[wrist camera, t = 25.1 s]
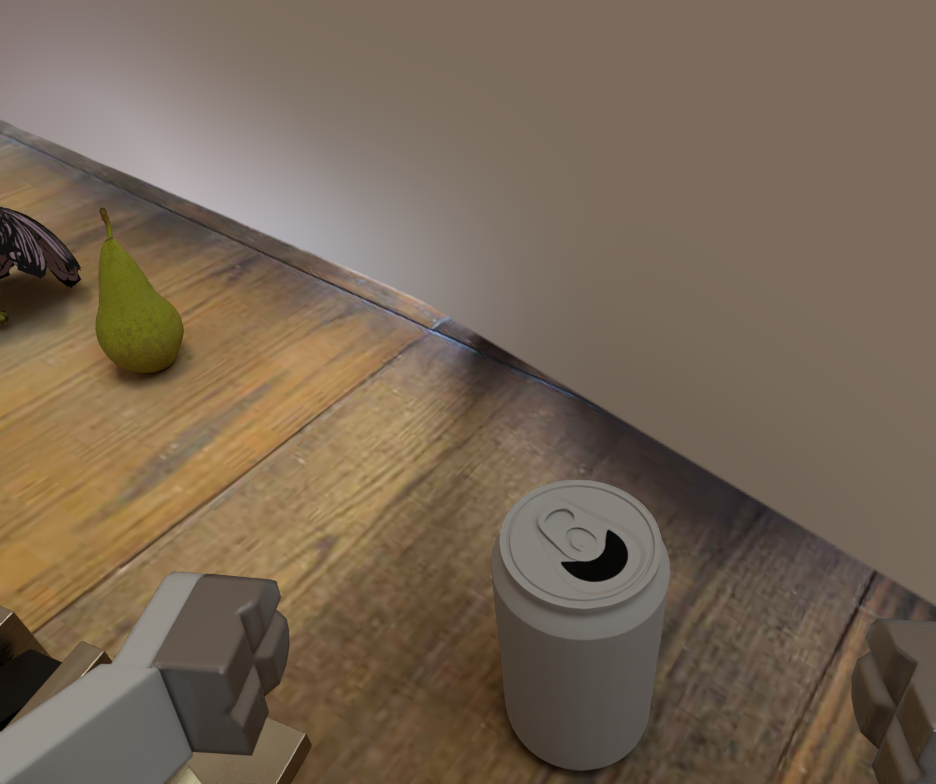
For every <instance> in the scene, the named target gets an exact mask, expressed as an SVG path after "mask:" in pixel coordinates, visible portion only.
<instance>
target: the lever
mask: <svg viewBox="0 0 936 784" xmlns="http://www.w3.org/2000/svg"><path fill="white" fill-rule="evenodd" d="M61 663H62V662H60V661H58V660H55V659H53V658H51V657H49V656H46V655H44V654H42V653H40V652H38V651H35V650H33V649H29V650H27V651H25V652H24V653H22V654H20V655H19V656H17V657H15V658H14V659H12V660H10V661H9V662H7V663H5V664H4V665H2V666H0V732H1V731H3V729H4V728H5V727H6V726H7V725H8V724H9V723H10V721H11V720H12V719H13V718H14V717H15V716H16V715H17V713H18V712H19V711H20V710H21V709H22V708H23V707H24V706H25V704H26V703H27V702H28V701H29V700H30V699H31V698H32V696H33V695H34V694H35V693H36V692H37V691H38V690H39V688H40V687H41V686H42V685H43V684H44V683H45V682H46V681H47V679H48V678H49V677H50V676H51V675H52V674H53V673H54V671H55V670H56V669H57V668H58V667H59V666H60V665H61Z"/></svg>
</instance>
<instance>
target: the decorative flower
mask: <svg viewBox="0 0 936 784" xmlns="http://www.w3.org/2000/svg"><path fill="white" fill-rule="evenodd" d="M14 264H15V265H16V266H17V267H18V270H20V271H22V272H25V273H28V274H31V275H34V276H37V277H38V278H40V279H41V277H42V278H43V277H44V276H45V274H46V270H47V268H49V269H50V271H51V272H52V273H53V274H54V276H55V277H56V278H57V279H58V280H59V281H61V282H62V283H63V284H64V285H66V286H67V287H69V286H70V288H72V286H73V285H74V286H75V285H76V284H77V283H78V282H79V281H80V280H81V278H80V276H79V274H78V269H79V270H80V268H81V267H80V265H79V264H78V262H77V261H76V259H75V258H74V256H73V255H72V254H71V252H70V251H69V250H68V248H67V247H66V246H65V245H64V244H63V243H62V242H61V241H60V240H59V239H58V238H57V237H56V235H55V234H53V233H52V232H51V231H50V230H48V229H47V228H46V227H44V226H43V225H42V224H40V223H39V222H37V221H35V220H34V219H32V218H30V217H29V216H27V215H25V214H22V213H20V212H17V211H14V210H11V209H8V208H3V207H0V279H2V278H4V277H7V276H9V275H10V274H9V270H10V268H11V267H12V266H14ZM79 267H80V268H79ZM80 271H81V270H80ZM8 316H9V315H8V314H7V313H6V312H5V311H4V310H3V311H0V323H2V324H3V323H5V322H7V321H8V319H9V317H8Z"/></svg>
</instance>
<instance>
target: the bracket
mask: <svg viewBox="0 0 936 784" xmlns="http://www.w3.org/2000/svg"><path fill="white" fill-rule="evenodd" d="M29 649H33V650H35V651H38V652H40V653H42V654H44V655H46V656H49V657H51V656H50V655H49V654H48V652H47V651H46V650H45V649H44V648H43V646H42V645H41V644H40V643H39V642H38V640H37V639H36V638H35V637H34V636H33V634H32V633H31V632H30V631H29V630H28V628H27V627H26V626H25V625H24V623H23V622H22V621H21V620H20V619H19V617H18V616H17V615H16V614H15V613H14V612H13V611H11V610H9V609H6V608H4V607H2V606H0V666H2V665H4V664H5V663H7V662H9V661H10V660H12V659H14V658H15V657H17V656H19V655H20V654H22V653H24V652H25V651H27V650H29ZM51 658H52V657H51ZM111 663H112V660H111V659H110V658H109V656H108V655H107V654H106V652H105V651H104V650H102V649H100V648H97V647H95V646H93V645H90V644H88V643H86V642H83V641H81V642H80V643H79V644H78V645H77V646H76V648H75V649H74V650H73V651H72V652H71V653H70V654H69V655H68V657H67V658H66V659H65V660H64V661H63V662H62V663H61V665H60V666H59V667H58V668H57V669H56V670H55V671H54V673H53V674H52V675H51V676H50V677H49V678H48V679H47V681H46V682H45V683H44V684H43V685H42V686H41V687H40V688H39V690H38V691H37V692H36V693H35V694H34V695H33V696H32V698H31V699H30V700H29V701H28V702H27V703H26V704H25V706H24V707H23V708H22V709H21V710H20V711H19V712H18V713H17V715H16V716H15V717H14V718H13V719H12V720H11V721H10V723H9V724H8V725H7V726H6V727H5V728H7V727H8V726H10V725H11V724H13V723H14V722H16V721H17V720H19V719H20V718H22V717H23V716H25V715H26V714H28V713H29V712H31V711H32V710H33V709H35V708H36V707H38V706H39V705H41V704H42V703H44V702H45V701H47V700H48V699H50V698H51V697H53V696H54V695H56V694H57V693H59V692H60V691H61V690H63V689H64V688H66V687H67V686H69V685H70V684H72V683H73V682H75V681H76V680H78V679H79V678H81V677H82V676H84V675H85V674H87V673H88V672H89V671H91V670H92V669H94V668H95V667H97V666H98V665H100V664H111ZM5 728H4V729H5ZM4 729H3V730H4ZM311 746H312V745H311V743H310V740H309V738H308V736H307V734H306V733H304V732H302V731H300V730H297V729H295V728H293V727H290V726H288V725H286V724H283V723H281V722H279V721H276V720H274V719H272V718H269V717H267V718H266V721H265V723H264V726H263V729H262V731H261V734H260V736H259V739H258V742H257V744H256V747H255V749H254V752H253V755H252V756H246V755H231V754H216V753H200V752H192V753H193V757H192V758H191V759H190V760H189V761H187V762H186V763H185V764H184V765H183V766H182V767H181V768H180V769H179V770H178V771H177V772H176V773H175V774H174V775H173V776H172V777H171V778H170V779H169V780H168V781H167V782H166V783H165V784H290V783H291V781H292V779H293V778H294V776H295V774H296V772H297V771H298V769H299V767H300V765H301V764H302V762H303V760H304V758H305V757H306V755H307V753H308V751H309V750H310V748H311Z"/></svg>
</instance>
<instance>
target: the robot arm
mask: <svg viewBox="0 0 936 784" xmlns="http://www.w3.org/2000/svg"><path fill="white" fill-rule="evenodd" d="M280 598H281V595H280V592H279V589H278V585H277V582H276V581H274V580H270V579H259V578H248V577H238V576H227V575H216V574H201V573H189V572H177V571H173V572H172V573H170V574H169V575H168V576H166V577H165V578H164V579H163V580H162V582H161V583H160V585H159V587H158V588H157V590H156V592H155V593H154V595H153V596H152V598H151V600H150V601H149V603H148V605H147V606H146V608H145V609H144V611H143V613H142V614H141V616H140V618H139V619H138V621H137V622H136V624H135V626H134V627H133V629H132V631H131V632H130V634H129V635H128V637H127V639H126V640H125V642H124V644H123V645H122V647H121V649H120V650H119V652H118V653H117V655H116V657H115V658H114V660H113V662H112V663H111V664H100V665H98V666H97V667H95V668H94V669H92V670H91V671H89V672H88V673H87V674H85V675H84V676H82V677H81V678H79V679H78V680H76V681H75V682H73V683H72V684H70V685H69V686H67V687H66V688H64V689H63V690H61V691H60V692H59V693H57V694H56V695H54V696H53V697H51V698H50V699H48V700H47V701H45V702H44V703H42V704H41V705H39V706H38V707H36V708H35V709H33V710H32V711H31V712H29V713H28V714H26V715H25V716H23V717H22V718H20V719H19V720H17V721H16V722H14V723H13V724H11V725H10V726H8V727H7V728H5V729H4V730H3V731H1V732H0V784H165V783H166V782H167V781H168V780H169V779H170V778H171V777H172V776H173V775H174V774H175V773H176V772H177V771H178V770H179V769H180V768H181V767H182V766H183V765H184V764H185V763H186V762H187V761H189V760H190V759H191V758H192V757H193V753H192V752H200V753H216V754H231V755H246V756H252V755H253V752H254V749H255V747H256V744H257V742H258V739H259V736H260V734H261V731H262V729H263V726H264V723H265V721H266V718H267V716H268V713H269V711H268V707H267V704H266V700H265V697H264V696H266V695H267V694H268V693H269V692H270V691H272V690H273V689H274V688H275V687H277V686H278V685H279V684H280V681H281V678H282V676H283V673H284V670H285V667H286V662H287V657H288V651H289V628H288V624H287V619H286V618H285V617H284V616H283V615H282V614H281V613H280V612H279V611H277V610H276V608H277V606H278V603H279V601H280ZM866 640H867V642H868V645H869V647H870V650H871V651H870V652H869V653H867V654H865V655H864V656H862V657H861V658H859V659H857V662H856V665H855V668H854V671H853V674H852V691H851V698H852V703H853V708H854V714H855V717H856V720H857V723H858V726H859V729H860V732H861V733H862V734H863V735H864V736H865V737H866V738H867V739H868V740H869V741H870V742H871V743H872V744H874V745H875V746H876V747H877V748H878V749H879V750H878V752H877V755H876V757H875V759H874V762H873V764H872V767H873V769H874V772H875V775H876V778H877V781H878V783H879V784H936V622H933V621H914V620H896V619H877V620H875V621H874V622H873V623H872V624H871V625H870V628H869V630H868V633H867V635H866Z"/></svg>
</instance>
